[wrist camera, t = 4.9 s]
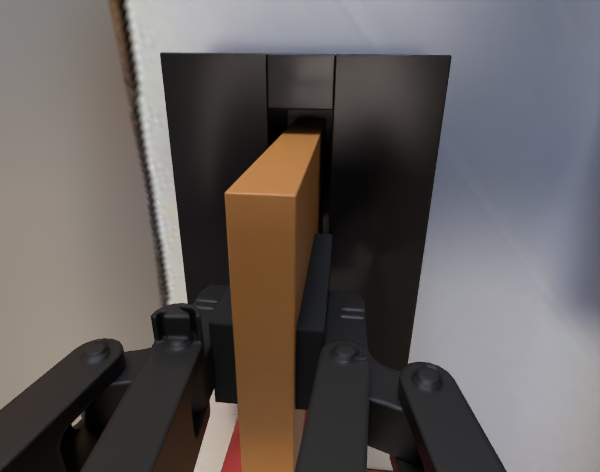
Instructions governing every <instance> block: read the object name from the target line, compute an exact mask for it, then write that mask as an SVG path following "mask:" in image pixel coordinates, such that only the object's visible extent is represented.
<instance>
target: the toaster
mask: <svg viewBox="0 0 600 472" xmlns="http://www.w3.org/2000/svg"><path fill="white" fill-rule="evenodd" d="M160 56H161V65H162V74H163V83H164V92H165V101H166V110H167V119H168V129H169V138H170V147H171V156H172V165H173V174H174V183H175V192H176V201H177V210H178V219H179V228H180V237H181V246H182V255H183V264H184V273H185V282H186V291H187V300H188V304H193V303H194V301H195V299H196V298H197V296H198V295H199V293H200V292H201V291H202V290H203V289H205V288H206V287H208V286H209V285H211V284H217V285H229V284H230V273H229V257H228V241H227V225H226V209H225V192H226V191H227V190H228V189H229V188H230V187H231V186H232V185H233V184H234V183H235V182H236V181H237V180H238V178H239V177H240V176H241V175H242V174H243V173H244V172H245V171H246V170H247V169H248V168H249V167H250V166H251V165H252V164H253V163H254V162H255V161H256V160H257V159H258V158H259V157H260V156H261V155H262V154H263V153H264V152H265V151H266V150H267V149H268V148H269V147H270V146H271V145H272V144H273V143H274V142H275V141H276V140H277V139H278V138H279V137H280V136H281V135H282V134H283V132H284V131H285V130H286V129H287V128H288V127H289V126H290V125H291V124H292V123H293V122H294V121H295V120H296V119H326V145H325V173H324V201H323V229H322V234H333V236H332V258H331V280H330V291H342V292H358V294H359V295H360V296H361V297H362V299H363V300H364V304H365V320H366V332H367V345H368V350H369V353H370V355H371V356H372V357H373V358H374V359H375V360H376V361H377V362H379V363H380V364H382V365H384V366H386V367H389V368H391V369H394V370H397V371H401V370H402V368H403V367H404V366H406V365H408V358H409V351H410V344H411V337H412V330H413V323H414V316H415V309H416V302H417V295H418V288H419V281H420V274H421V267H422V260H423V253H424V246H425V239H426V232H427V225H428V218H429V211H430V204H431V197H432V190H433V183H434V176H435V169H436V162H437V155H438V148H439V141H440V134H441V127H442V120H443V113H444V106H445V99H446V92H447V85H448V78H449V71H450V64H451V55H368V54H336V55H335V54H263V53H160Z"/></svg>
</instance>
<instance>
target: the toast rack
mask: <svg viewBox="0 0 600 472" xmlns="http://www.w3.org/2000/svg"><path fill="white" fill-rule="evenodd" d="M366 472H387V471H378V470H368V469H367V471H366Z"/></svg>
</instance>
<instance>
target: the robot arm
mask: <svg viewBox="0 0 600 472" xmlns="http://www.w3.org/2000/svg"><path fill="white" fill-rule="evenodd" d="M332 236H333V234H315V235H314V241H313V246H312V251H311V256H310V261H309V266H308V272H307V277H306V282H305V287H304V292H303V298H302V303H301V308H300V313H299V318H298V323H297V329H296V409H300V410H308V412H307V417H306V421H305V426H304V430H303V435H302V440H301V444H300V449H299V453H298V458H297V463H296V467H295V472H366V471H367V445H368V446H370V447H373V448H375V449H378V450H380V451H383V452H385V453H388V454H390V460H391V464H392V467H393V471H394V472H507V471H506V470H505V468H504V466H503V464H502V462H501V461H500V459H499V457H498V455H497V454H496V452H495V450H494V448H493V447H492V445H491V443H490V441H489V440H488V438H487V436H486V434H485V433H484V431H483V429H482V427H481V426H480V424H479V422H478V420H477V419H476V417H475V415H474V413H473V412H472V410H471V408H470V406H469V404H468V403H467V401H466V399H465V397H464V396H463V394H462V392H461V390H460V389H459V387H458V385H457V383H456V382H455V380H454V378H453V377H452V376H451V375H450V374H449V373H448V372H447V371H446V370H444V369H443V368H441V367H439V366H437V365H434V364H431V363H426V362H414V363H409V364H408V365H406V366H404V367H403V368H402V370H401V371H397V370H394V369H391V368H389V367H386V366H384V365H382V364H380V363H379V362H377V361H376V360H375V359H374V358H373V357H372V356H371V355H370V353H369V350H368V345H367V332H366V320H365V304H364V300H363V299H362V297H361V296H360V295H359V294H358V292H342V291H330V280H331V258H332ZM151 320H152V327H153V333H154V339H155V342H154V344H153V345H152V347H151V348H148V349H142V350H135V351H128V352H124V350H123V346H122V344H121V343H120V342H119V341H117V340H114V339H106V338H104V339H97V340H93V341H90V342H87V343H85V344H83V345H81V346H79V347H78V348H76V349H75V350H73V351H72V352H71V353H70V354H69V355H67V356H66V357H65V358H64V359H62V360H61V361H60V362H59V363H58V364H56V365H55V366H54V367H53V368H51V369H50V370H49V371H48V372H46V373H45V374H44V375H43V376H42V377H40V378H39V379H38V380H37V381H35V382H34V383H33V384H32V385H30V386H29V387H28V388H27V389H25V390H24V391H23V392H22V393H21V394H19V395H18V396H17V397H16V398H14V399H13V400H12V401H11V402H10V403H8V404H7V405H6V406H5V407H3V408H2V409H1V410H0V472H193V471H194V468H195V464H196V461H197V458H198V454H199V451H200V447H201V444H202V441H203V437H204V434H205V430H206V427H207V423H208V420H209V417H210V402H209V399H210V397H211V395H212V392H213V390H214V389H215V400H216V402H224V403H235V404H238V401H237V385H236V369H235V353H234V337H233V321H232V305H231V289H230V284H229V285H217V284H211V285H209V286H208V287H206V288H205V289H203V290H202V291H201V292H200V293H199V295H198V296H197V298H196V299H195V301H194V303H193V304H185V303H179V304H171V305H168V306H164V307H162V308H160V309H158V310H156V311H155V312H154V313H153V314H152V315H151ZM80 414H81V417H82V419H81V420H80V421H79V422H78V423H77V424H76V425H74V426H73V427H72V425H71V424H72V422H73V421H74V420H75V419H76V418H77V417H78V416H79V415H80Z"/></svg>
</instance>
